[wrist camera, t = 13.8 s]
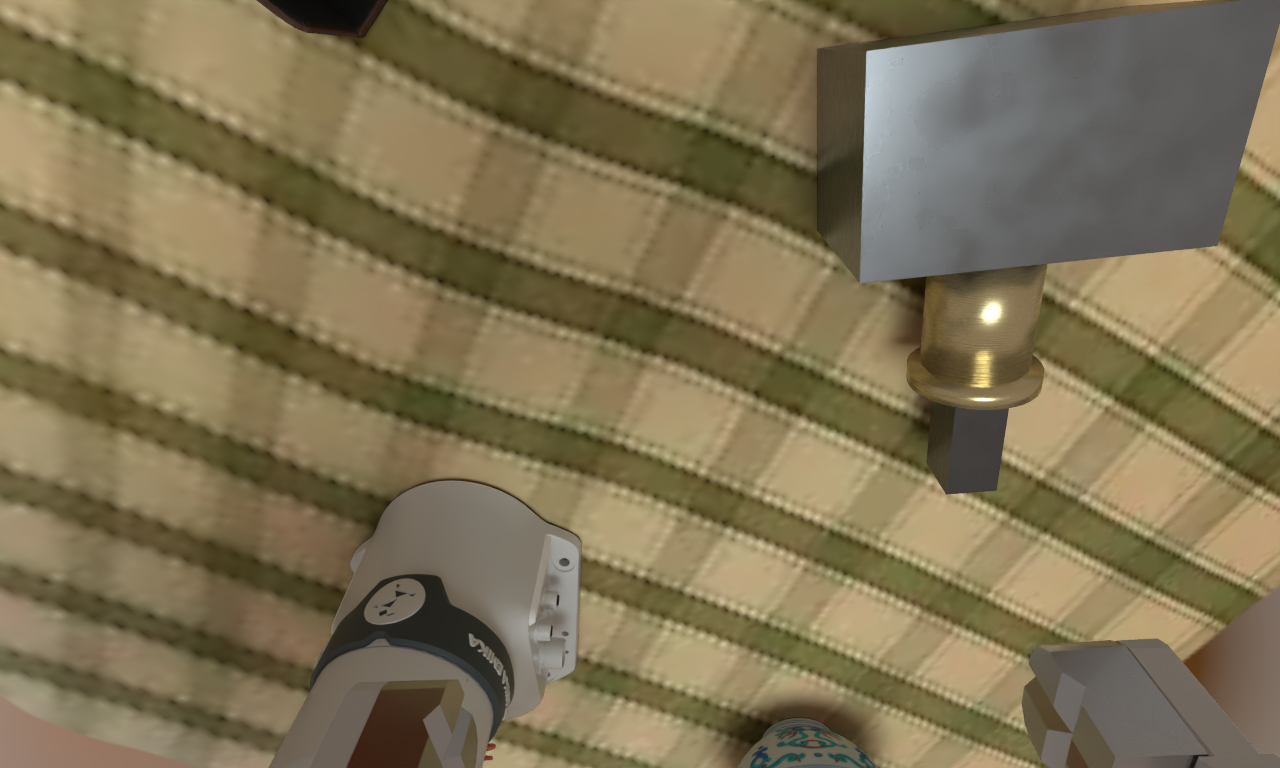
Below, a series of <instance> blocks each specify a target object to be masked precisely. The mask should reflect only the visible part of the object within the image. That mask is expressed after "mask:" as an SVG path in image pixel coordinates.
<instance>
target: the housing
mask: <svg viewBox="0 0 1280 768" xmlns="http://www.w3.org/2000/svg"><path fill="white" fill-rule="evenodd" d="M1279 24H1280V0H1203V1H1190V2H1177V3H1164V4H1151V5H1138V6H1126V7H1119V8H1111V9H1104V10H1097V11H1089V12H1082V13H1075V14H1067V15H1060V16H1053V17H1046V18H1038V19H1031V20H1024V21H1016V22H1009V23H1002V24H994V25H987V26H980V27H972V28H965V29H958V30H951V31H943V32H936V33H929V34H921V35H914V36H907V37H899V38H892V39H885V40H877V41H870V42H863V43H855V44H848V45H841V46H834V47H826V48H819V49H817V230H818V232H819V233H820V234H821V235H822V237H823V238H824V239H825V240H826V242H827V243H828V244H829V245H830V247H831V248H832V249H833V250H834V252H835V253H836V254H837V255H838V257H839V258H840V259H841V260H842V262H843V263H844V264H845V265H846V267H847V268H848V269H849V270H850V272H851V273H852V274H853V275H854V277H855V278H856V279H857V280H858V282H859V283H869V282H878V281H888V280H897V279H907V278H916V277H926V276H935V275H945V274H954V273H964V272H973V271H983V270H992V269H1002V268H1011V267H1021V266H1031V265H1040V264H1050V263H1059V262H1069V261H1078V260H1088V259H1097V258H1107V257H1116V256H1126V255H1135V254H1145V253H1154V252H1164V251H1173V250H1183V249H1192V248H1202V247H1211V246H1217V245H1218V242H1219V238H1220V235H1221V231H1222V227H1223V224H1224V220H1225V217H1226V213H1227V210H1228V206H1229V202H1230V199H1231V195H1232V192H1233V188H1234V185H1235V181H1236V177H1237V174H1238V170H1239V167H1240V163H1241V159H1242V156H1243V152H1244V149H1245V145H1246V142H1247V138H1248V134H1249V131H1250V127H1251V124H1252V120H1253V117H1254V113H1255V109H1256V106H1257V102H1258V99H1259V95H1260V92H1261V88H1262V84H1263V81H1264V77H1265V74H1266V70H1267V67H1268V63H1269V59H1270V56H1271V52H1272V49H1273V45H1274V42H1275V38H1276V34H1277V31H1278V27H1279Z"/></svg>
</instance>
